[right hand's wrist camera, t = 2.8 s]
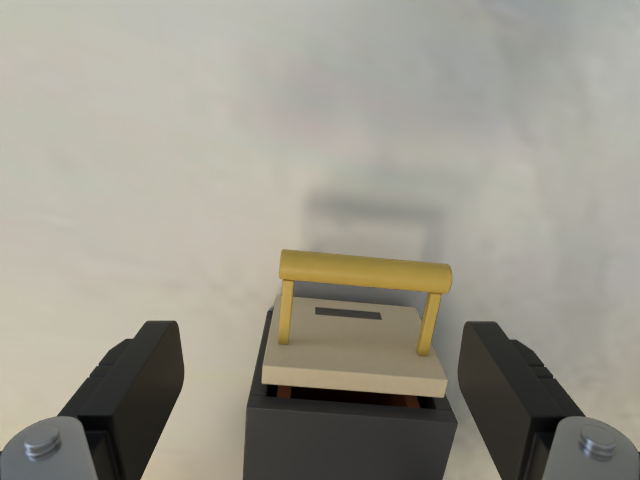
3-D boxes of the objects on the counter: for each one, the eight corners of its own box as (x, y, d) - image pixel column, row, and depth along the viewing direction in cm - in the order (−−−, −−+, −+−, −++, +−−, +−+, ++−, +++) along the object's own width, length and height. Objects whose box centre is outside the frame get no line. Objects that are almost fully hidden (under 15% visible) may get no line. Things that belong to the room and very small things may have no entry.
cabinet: (267, 311, 30) (246, 407, 21) (416, 323, 31) (458, 423, 22) (256, 474, 36) (236, 607, 27) (382, 483, 36) (405, 616, 27)
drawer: (281, 218, 27) (268, 266, 20) (430, 232, 27) (472, 285, 20) (264, 457, 34) (249, 559, 26) (383, 465, 34) (401, 568, 27)
